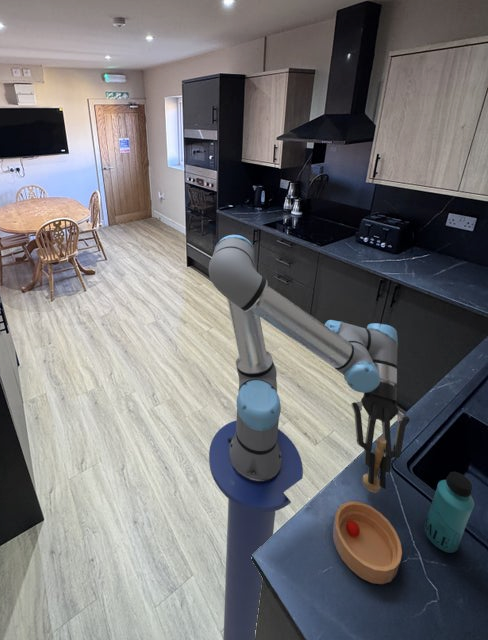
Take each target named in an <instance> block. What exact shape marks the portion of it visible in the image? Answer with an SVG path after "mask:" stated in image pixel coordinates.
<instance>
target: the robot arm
mask: <svg viewBox="0 0 488 640" xmlns="http://www.w3.org/2000/svg"><path fill="white" fill-rule="evenodd" d="M255 255H256V251H255V247H254V245H253V243H252V242H251V241H250V240H249V239H248V238H246V237H244V236H242V235H239V234H230V235H226V236H224V237H222V238H221V239H220V240H219V241H218V242H217V243H216V244H215V247H214V250H213V254H212V256H211V258H210V260H209V264H208V275H209V278H210V281H211V282H212V284H213V286H214V287H215V288H216V290H217V291H218V292H219V293H220V294H221V295H222V296H224V298H226V301H227V307H228V312H229V317H230V321H231V325H232V329H233V335H234V339H235V342H236V349H237V352H238V354H237V356H236V358H235V366H236V372H237V375H238V376H237V377H238V391H237V392H238V393H237V396H236V420H237V421H236V420H235V421H236V433H235V435H234V437H233V438H228V441H231V443H230V446H229V459H230V463H231V465H232V467H233V469H234V470H235V472H236V473H237V474H238V475H239V476H240V477H242V478H243V479H245V480H247V481H249V482H252V483H257V484H263V483H268V482H270V481H272V480H274V479H275V478H276V477H277V476H278V474H279V472H280V469H281V463H282V456H281V452H280V449H279V446H278V443H277V435H278V429H279V425H280V424H279V423H280V416H281V411H282V410H281V409H282V407H281V400H280V396H279V394H278V381H277V376H278V375H277V368H276V366H275V363H274V360H273V359H274V358H273V355H272V354H271V353H270V352H269V351H268V350H267V349H266V344H265V338H264V332H263V327H262V323H261V319H263V321H266V322H267V323H268V324H270V325H271V326H273V327H274V328H275V329H277V330H278V331H280V332H281V333H283V334H285V336H287V337H289V338H290V339H292V340H293V341H294V342H295V343H297V344H298V345H300V346H301V347H302V348H305V349H306V350H307V351H309V352H310V353H312V354H313V355H315V356H316V357H317V358H319V359H320V360H322V361H323V362H325V363H326V364H328V365H329V366H331V367H332V368H333V369H334V370H336V371H337V372H339V373H340V374H341V375H343V378H344V381H345V382H346V384H347V385H348V387H349V388H350V389H351V390H353V391H354V392H358V393H361V394H362V393H363V396H362V398H361V399H360V401H356V402H355V401H354V402H352V403H351V404H350V405H351V408H352V411H353V414H354V426H355V436H356V443H357V445H358V446H359V447H361V448H362V449H363V450H364V458H363V463H364V466H367V467H368V482H369V483H370V484H373V485H374V465H375V454H374V452H372V450H373V443H374V437H375V428H376V423H377V420H379V421H380V422H381V427H382V437H383V438H384V439H385V440H386V446H385V450H384V454H383V458H382V462H381V466H380V470H379V481H380V485H379V486H381V489H385V490H387V473H388V474H391V472H392V459H394V458H395V459H396V458H398V459H399V458H401V455H402V450H403V444H404V438H405V431H406V427H407V425H408V424H409V423H410V418H409V416H406V415H404V414H403V413H402V412H400V410H399V407H398V405H397V404H398V403H397V402H398V401H397V400H398V399H397V397H398V396H397V395H398V394H397V393H398V391H397V389H398V388H397V387H396V385H398V384H397V383H398V347H399V343H398V342H399V341H398V332H397V330H396V328H394V327H393V326H392V325H388V324H386V323H385V324H384V323H374V322H373V323H369V324H367V326H366V327H365V328H364V327H361V326H358V325H354V324H350V323H347V322H344V321H339V320H334V319H329V320H327V321H326V322H325V323H322V322H321V321H320V320H318V319H316V318H315V317H314V316H313V315H311V314H309V312H306V311H305V310H304V309H303V308H301V307H300V306H298V305H297V304H295V303H294V302H293V301H291V300H290V299H288V298H287V297H285V296H284V295H282V294H281V293H280V292H278V291H277V290H275V289H274V288H272V287H271V286H270V285H269V282H268V280H267V278H265V277H264V276H262V275H261V274H260V273H259V272H258V271H257V267H256V261H255ZM363 409H364V410H365V412H366V414H367V416H368V418H367V427H366V434H365V442H364V432H363V420H362V413H361V412H362V410H363ZM395 417H396V421H397V425H396V431H395V436H394V440H393V446H392V440H391V439H392V437H391V421H392V420H393V419H394V418H395Z"/></svg>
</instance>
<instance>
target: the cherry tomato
mask: <svg viewBox="0 0 488 640" xmlns="http://www.w3.org/2000/svg"><path fill="white" fill-rule="evenodd" d="M346 529H347V531H348V533H349V534H350V535H351V536H354V537H356V536H358V535H359V533H360V530H359V526H358V525H357V523H355V522H354V521H348V522H347V524H346Z"/></svg>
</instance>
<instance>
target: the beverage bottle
mask: <svg viewBox="0 0 488 640" xmlns="http://www.w3.org/2000/svg"><path fill="white" fill-rule="evenodd" d="M472 490H473V484H472V482H471V481H470V480H469V478H468V477H466V476H465V475H464V474H463V473H460V472H458V471H450V472H449V473H448V475H447V476H446V479H441V480H439V481H438V483H437V486H436V489H435V491H434V493H433V495H432V500H431V503H430V505H429V508H428V510H427V514H426V518H425V520H424V531H425V534H426V536H427V538H428V540H429V541H430V542H431V544H433V545H434V546H435V547H436V548H438V549H439V550H441V551H443V552H445V553H449V554H450V553H455V552H457V551H458V550H459V547H460V544H461V541H462V539H463V536H464V533H465V530H466V527H467V524H468V521H469V519H470V516H471V514H472V511H474V508H475V501H474V499H473V497H472Z"/></svg>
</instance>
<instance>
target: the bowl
mask: <svg viewBox="0 0 488 640" xmlns="http://www.w3.org/2000/svg"><path fill="white" fill-rule="evenodd" d="M348 521H354V522H355V523H357V525H358V526H359V530H360V533H359V535H358V536H356V537H354V536H351V535H350V534H349V533H348V531H347V529H346V524H347V522H348ZM332 526H333V527H332V538H333V542H334V545H335V546H334V547H335V549H336V551H337V552H338V555H339V557H340V558H341V560H342V561H343V562H344V564H345V565H346V566H347V567H348V569H349V570H350V571H351V572H353V573H354V574H355V575H356V576H358V577H359V578H360V579H362V580H364V581H367V582H368V583H371V584H378V585H385V584H387V583H391V582H392V581H393V580H394V578H396V576H397V574H398V570H399V567H400V564H401V560H402V556H403V550H402V543H401V539H400V537H399V535H398V533H397V531H396V529H395V527H394V526H393V525H392V523H391V522H390V521H389V520H388V519H387V518H386V516H384V514H382V513H381V512H380V511H378V509H375V508H374V507H373V506H371V505H369V504H367V503H364V502H361V501H355V500H354V501H351V500H350V501H346V502H344V503H343V504H340V506H339V507H337V510H336V513H335V515H334V520H333V525H332Z"/></svg>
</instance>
